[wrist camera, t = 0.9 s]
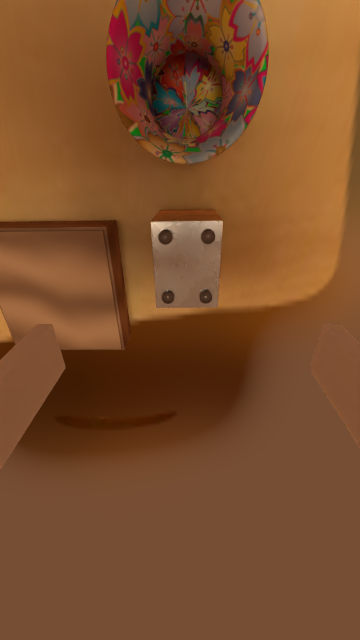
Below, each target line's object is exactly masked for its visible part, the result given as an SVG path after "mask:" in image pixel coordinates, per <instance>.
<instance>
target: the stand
mask: <svg viewBox="0 0 360 640" xmlns="http://www.w3.org/2000/svg"><path fill="white" fill-rule="evenodd" d="M0 308H1V310H2V313H3V315H4V318H5V320H6V323H7V325H8V328H9V330H10V333H11V335H12V338H13V340H14V342H15V345H16V344H17V343H18V342H19V341H20V340H21V339H22V338H23V337H24V336H25V335H27V334H28V333H29V332H30V331H31V330H32V329H33V328H34V327H35V326H36V325H37V324H53V327H54V331H55V334H56V337H57V341H58V344H59V347H60V350H125V347H126V345H127V342H128V339H129V336H130V334H131V332H130V324H129V317H128V309H127V301H126V294H125V286H124V279H123V271H122V263H121V256H120V248H119V241H118V233H117V225H116V221H49V222H0Z"/></svg>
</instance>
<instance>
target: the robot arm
mask: <svg viewBox="0 0 360 640" xmlns="http://www.w3.org/2000/svg"><path fill="white" fill-rule="evenodd" d="M64 369H65V364H64V361H63V357H62V354H61V351H60V347H59V344H58V341H57V337H56V334H55V331H54V327H53V324H37V325H36V326H35V327H34V328H33V329H32V330H31V331H30V332H29V333H28V334H27V335H25V336H24V337H23V338H22V339H21V340H20V341H19V342H18V343H17V344H16V345H15V346H14V347H13V348H12V349H11V350H10V351H9V352H8V353H7V354H6V355H5V356H4V357H3V358H2V359H1V360H0V470H1V468H2V466H3V465H4V463H5V462H6V460H7V459H8V457H9V456H10V454H11V452H12V451H13V449H14V447H15V446H16V444H17V443H18V441H19V440H20V438H21V437H22V435H23V433H24V432H25V430H26V429H27V427H28V425H29V424H30V423H31V421H32V419H33V418H34V416H35V415H36V413H37V412H38V410H39V408H40V407H41V405H42V404H43V402H44V400H45V399H46V398H47V396H48V394H49V393H50V391H51V390H52V388H53V387H54V385H55V383H56V382H57V380H58V379H59V377H60V376H61V374H62V372H63V371H64ZM310 370H311V372H312V373H313V375H314V376H315V378H316V380H317V381H318V383H319V384H320V386H321V387H322V389H323V391H324V392H325V394H326V395H327V397H328V398H329V400H330V402H331V403H332V405H333V407H334V408H335V410H336V411H337V413H338V414H339V416H340V418H341V419H342V421H343V422H344V424H345V425H346V427H347V429H348V430H349V432H350V433H351V435H352V437H353V438H354V440H355V441H356V443H357V445H358V446H359V448H360V343H358V342H357V341H356V340H355V339H354V338H353V337H352V336H351V335H350V334H349V333H348V332H347V331H346V330H345V329H344V328H343V327H342V326H341V325H340V324H323V326H322V329H321V333H320V336H319V340H318V343H317V346H316V350H315V353H314V356H313V360H312V363H311V366H310Z"/></svg>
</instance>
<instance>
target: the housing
mask: <svg viewBox="0 0 360 640" xmlns="http://www.w3.org/2000/svg"><path fill="white" fill-rule="evenodd" d="M222 228H223V220H222V219H221V218H220V216H219V215H218V214H217V212H216V211H215V210H160V211H159V212H158V213H157V214H156V216H155V217H154V218H153V219H152V221H151V234H152V249H153V263H154V278H155V292H156V307H157V308H185V307H218V292H219V276H220V260H221V244H222Z"/></svg>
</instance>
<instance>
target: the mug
mask: <svg viewBox="0 0 360 640" xmlns="http://www.w3.org/2000/svg"><path fill="white" fill-rule="evenodd" d="M268 54H269V50H268V34H267V27H266V21H265V17H264V13H263V9H262V6H261V3H260V1H259V0H117V2H116V5H115V7H114V10H113V13H112V17H111V21H110V25H109V31H108V38H107V52H106V60H107V73H108V80H109V86H110V90H111V94H112V98H113V101H114V104H115V106H116V109H117V111H118V113H119V116H120V118H121V119H122V121H123V123H124V125H125V126H126V128H127V130H128V131H129V132H130V134H131V135H132V136H133V138H134V139H135V140H136V141H137V142H138V143H139V144H140V145H141V146H142V147H143V148H145V149H146V150H147V151H149V152H150V153H151V154H153V155H155V156H156V157H158V158H161V159H163V160H166V161H168V162H172V163H177V164H194V163H199V162H203V161H206V160H209V159H211V158H213V157H215V156H217V155H219V154H220V153H222V152H223V151H225V150H226V149H227V148H229V147H230V146H231V145H232V144H233V143H234V142H235V141H236V140H237V139H238V138H239V137H240V136H241V134H242V133H243V132H244V130H245V129H246V128H247V126H248V124H249V123H250V121H251V119H252V117H253V116H254V114H255V112H256V109H257V107H258V105H259V102H260V99H261V96H262V93H263V89H264V86H265V81H266V76H267V68H268Z"/></svg>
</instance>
